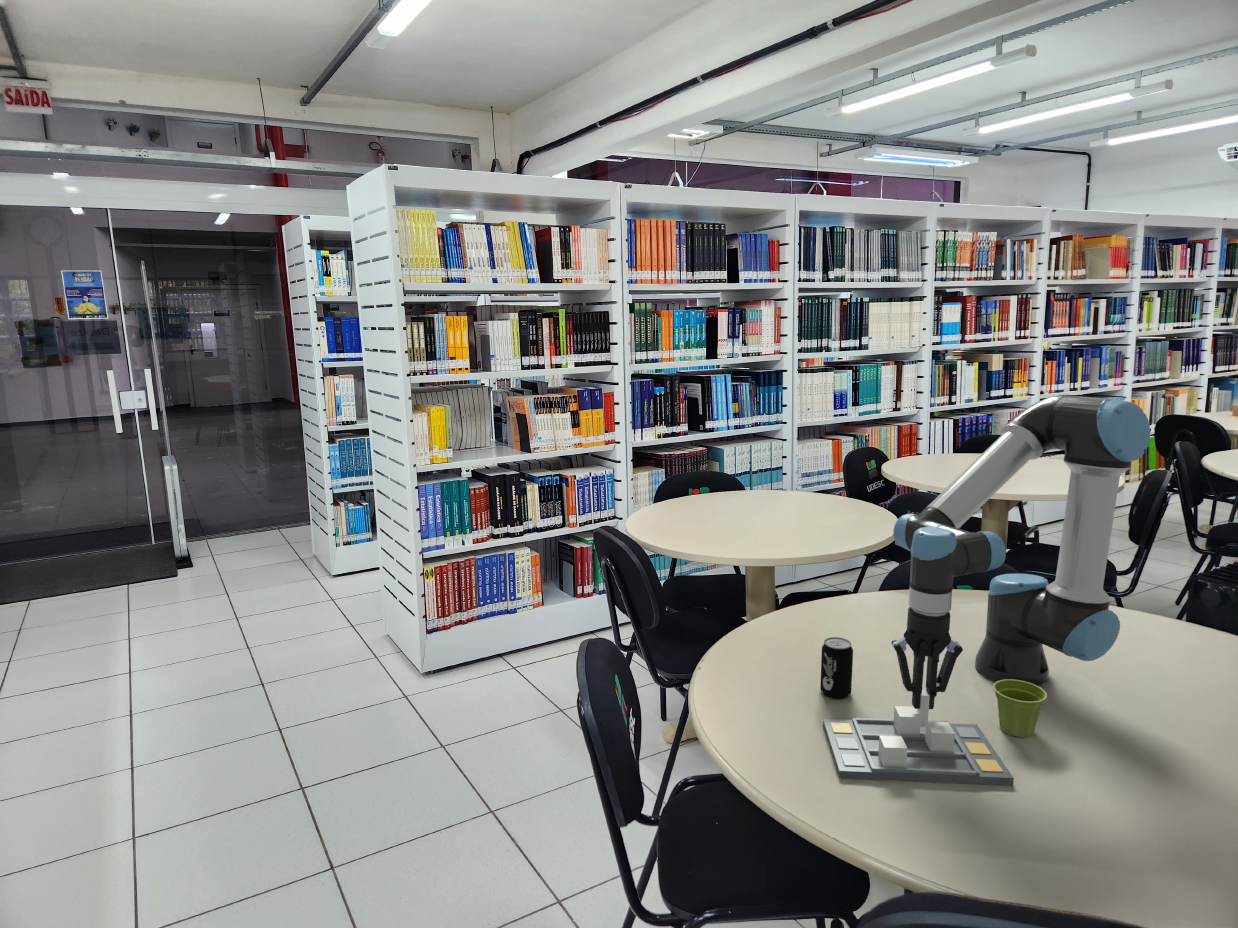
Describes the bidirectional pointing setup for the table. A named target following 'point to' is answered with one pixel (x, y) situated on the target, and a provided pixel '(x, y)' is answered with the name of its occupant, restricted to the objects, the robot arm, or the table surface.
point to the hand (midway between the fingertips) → (921, 722)
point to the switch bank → (914, 754)
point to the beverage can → (836, 668)
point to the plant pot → (1018, 706)
